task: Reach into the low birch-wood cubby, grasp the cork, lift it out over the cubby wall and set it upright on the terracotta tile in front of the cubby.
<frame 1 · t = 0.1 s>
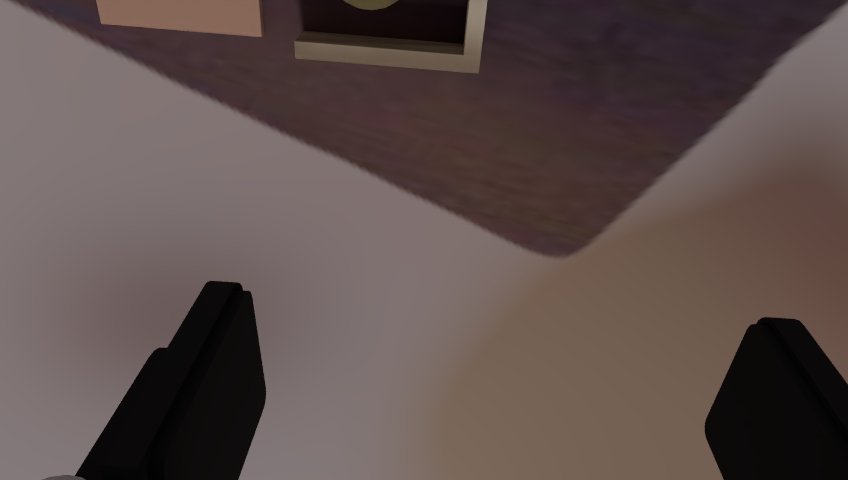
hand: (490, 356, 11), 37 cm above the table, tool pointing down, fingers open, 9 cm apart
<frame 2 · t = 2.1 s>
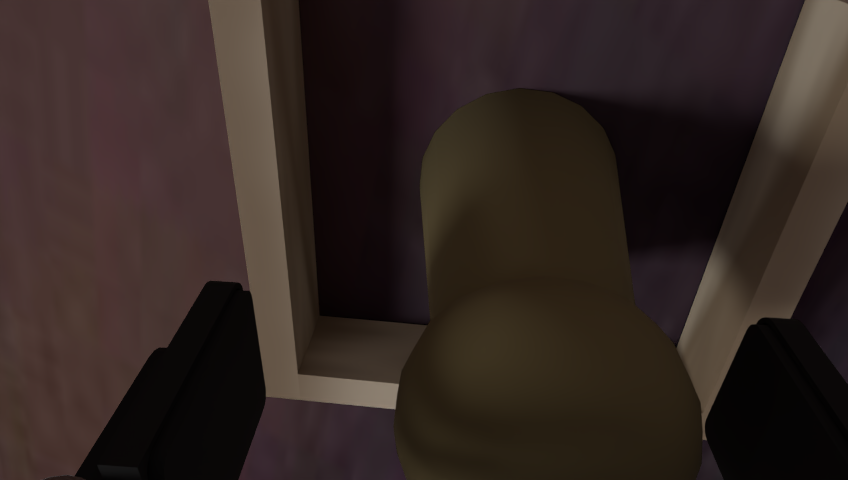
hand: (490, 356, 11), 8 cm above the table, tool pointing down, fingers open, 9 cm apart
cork: (516, 181, 18), on the table
cubby: (516, 184, 18), on the table
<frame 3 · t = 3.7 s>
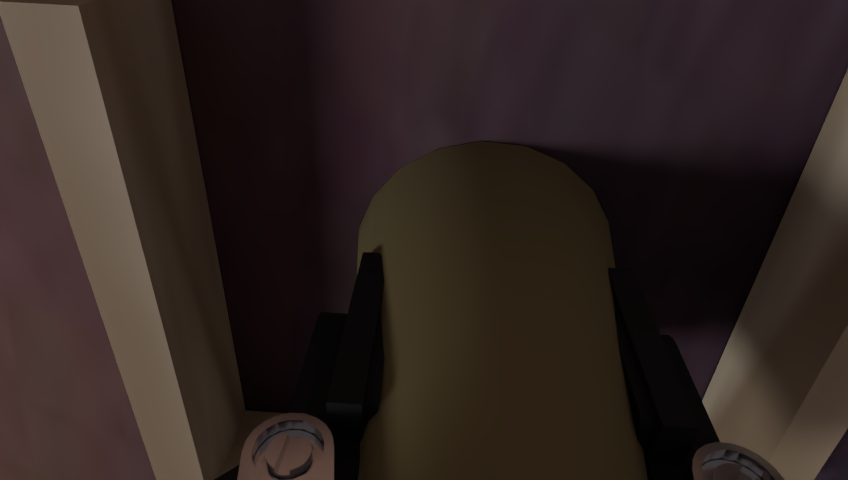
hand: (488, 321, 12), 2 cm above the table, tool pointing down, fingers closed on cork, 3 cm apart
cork: (481, 253, 14), on the table, touching gripper
cubby: (483, 259, 14), on the table
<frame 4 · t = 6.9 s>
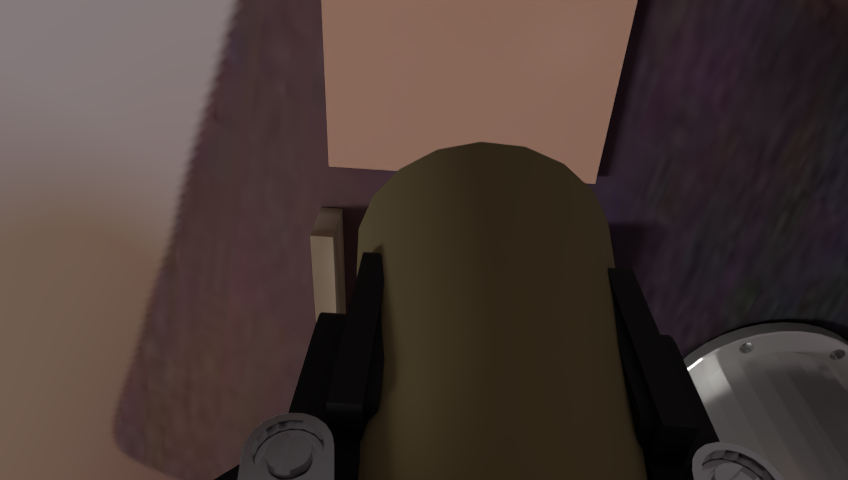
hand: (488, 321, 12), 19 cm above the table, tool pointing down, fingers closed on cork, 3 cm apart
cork: (481, 254, 14), point 17 cm above the table, touching gripper
tile: (471, 55, 28), on the table
cubby: (449, 299, 36), on the table
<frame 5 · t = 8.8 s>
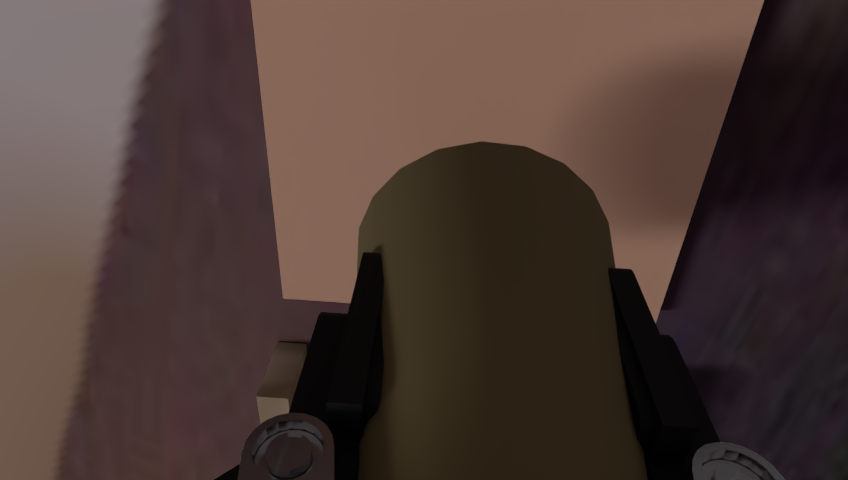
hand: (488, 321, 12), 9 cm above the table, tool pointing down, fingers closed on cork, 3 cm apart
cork: (481, 253, 14), point 6 cm above the table, touching gripper
tile: (482, 155, 19), on the table
cubby: (451, 449, 28), on the table
when the fingers open (4 cm above the table, at t = 10.4 s): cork stays where it is, resting on tile.
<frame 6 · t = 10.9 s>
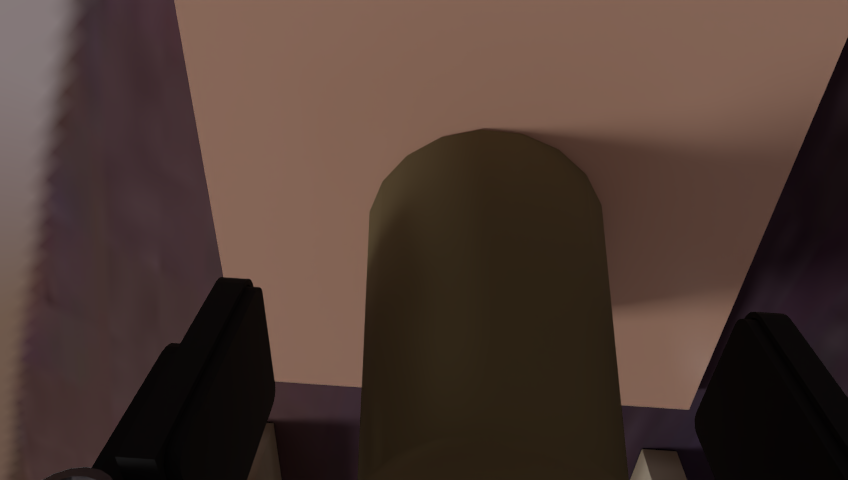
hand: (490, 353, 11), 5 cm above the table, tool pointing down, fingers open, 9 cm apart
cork: (483, 235, 15), point 1 cm above the table, touching tile
tile: (481, 216, 16), on the table
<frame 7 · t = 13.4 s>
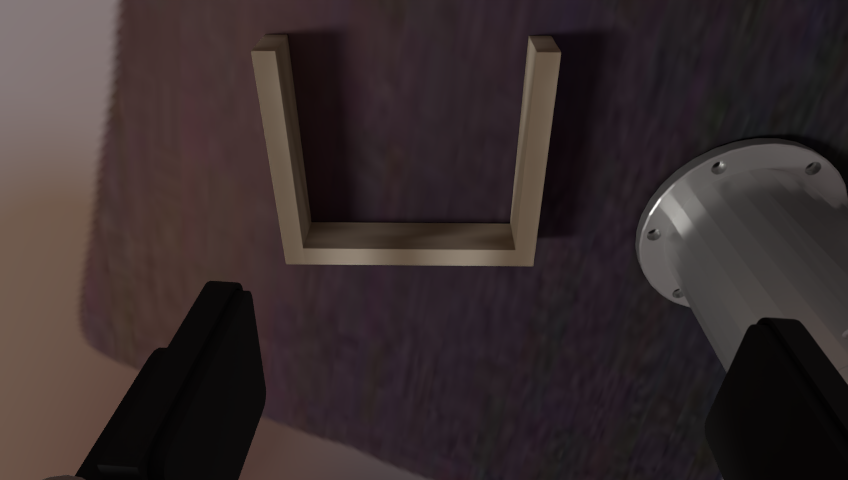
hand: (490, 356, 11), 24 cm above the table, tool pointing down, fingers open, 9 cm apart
cubby: (409, 138, 35), on the table
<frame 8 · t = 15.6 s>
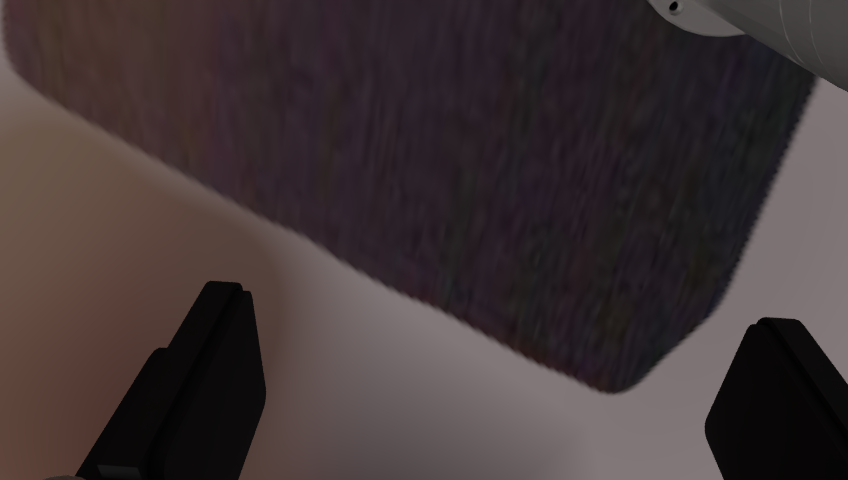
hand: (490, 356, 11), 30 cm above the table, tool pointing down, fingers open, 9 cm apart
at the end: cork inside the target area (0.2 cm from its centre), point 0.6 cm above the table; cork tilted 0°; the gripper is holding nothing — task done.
